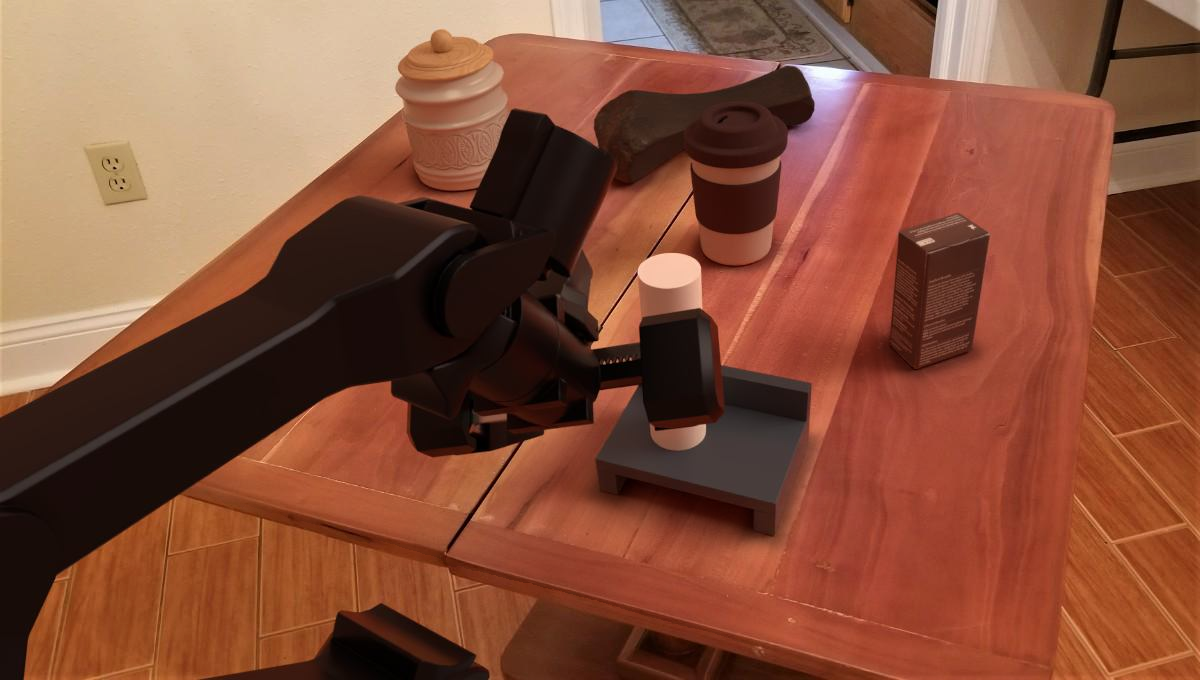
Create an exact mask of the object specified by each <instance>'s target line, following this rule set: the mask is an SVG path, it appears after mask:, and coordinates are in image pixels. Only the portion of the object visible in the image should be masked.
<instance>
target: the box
mask: <svg viewBox="0 0 1200 680" xmlns="http://www.w3.org/2000/svg"><path fill="white" fill-rule="evenodd" d="M990 237H991V233H990V232H989V231H988V230H986V229H985V228H983V227H981V226H980V225H978V224H977V223H975V222H973V220H971V219H969V218H968V217H966V216H965V215H963V214H962V213H960V212H956V213H953V214H949V215H946V216H943V217H940V218H937V219H933V220H929V221H927V222H923V223H920V224H917V225H914V226H910V227H907V228H903V229H899V230H898V239H897V249H896V250H897V251H896V263H895V275H894V285H893V295H892V307H891V318H890V331H889V342H888V343H889V346H891V347H892V349H893V350H894V351H895V352H897V354H898V355H899V356H900V357H901V358H902V359H904V361H906V362H907V364H909V366H911V367H913V369H915V370H917V369H920V368H924V367H927V366H929V365H932V364H935V363H938V362H941V361H944V360H948V359H949V358H953V357H955V356H958V355H961V354H964V353H968V352H971V351H972V350H973V345H974V339H975V332H976V326H977V320H978V315H979V314H978V312H979V306H980V301H981V295H982V289H983V281H984V275H985V268H986V263H987V256H988V251H989V243H990Z"/></svg>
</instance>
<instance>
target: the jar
mask: <svg viewBox="0 0 1200 680" xmlns="http://www.w3.org/2000/svg"><path fill="white" fill-rule="evenodd" d="M397 71H398V73H399V74H400V75H401V76H400V77H399V78H398V79H397V81H396V83H395V87H394V90H395V93H396V94H397V96H398V97H399V98H401V100H402V105H403V106H402V110H401V117H402V120H403V122H404V125H405V129H406V133H407V137H408V141H409V145H410V150H411V153H412V160H411V161H412V164H413V169H414V170H415V172H416V174H417V176H418V178H419V180H420V182H421V183H423V184H424V185H426V186H427V187H430V188H433V189H436V190H441V191H466V190H473V189H478V187H479V185H480V183H481V180H482V178H483V176H484V174H485V172H486V170H487V168H488V165H489V163H490V161H491V159H492V157H493V155H494V152H495V150H496V148H497V145H498V142H499V138H500V135H501V132H502V129H503V127H504V124H505V122H506V120H507V118H508V116H509V114H510V111H509V106H508V105H509V104H508V102H509V98H508V97H509V96H508V95H507V93H506V91H505V90H503V86H502V81H503V79H504V76H505V75H504V74H505V73H504V72H505V71H504V68H503V67H502V65H501V64H499V63H497V62H496V61H494V50H493V49H492V48H491V47H490V46H488V45H487V44H485V43H482V42H478V40H475V39H474V38H471V37H467V36H453V35H452V34H451V32H449V31H448V30H446V29H442V28H441V29H436V30H434V31H433V32H432V33H431V36H430V40H427V41H425V42H422V43H420V44H419V43H418V44H417V45H416V46H414V47H413V48H411V49H410V50H409V51H408V53H407V54H406V55H405V56H404V57H402V58H401V60H399V62H398V65H397Z"/></svg>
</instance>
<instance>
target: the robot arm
mask: <svg viewBox="0 0 1200 680" xmlns="http://www.w3.org/2000/svg"><path fill="white" fill-rule="evenodd" d="M616 171H617V164H616V162H615V160H614V158H613V157H612V155H611V154H610V153H609V152H608V151H606V150H604V149H601V148H598V146H597V145H595V144H593V143H592V142H591V141H589V140H587V139H586V138H585V137H582V136H580V135H578V134H577V133H575V132H574V131H571V130H568V129H566V128H564V127H561V126H559V125H556V124H555V122H554V121H553V120H552V119H551V118H550V116H549V115H548V114H547V113H543V112H538V111H532V110H527V109H521V108H516V107H515V108H511V109H510V111H509V116H508V118H507V120H506V122H505V124H504V127H503V129H502V132H501V135H500V138H499V142H498V145H497V148H496V150H495V152H494V155H493V157H492V159H491V161H490V163H489V165H488V168H487V170H486V172H485V174H484V176H483V178H482V180H481V183H480V185H479V187H478V188H476V191H475V193H474V196H473V198H472V200H471V201H470V204H469V208H467V207H465V206H460V205H458V204H457V205H456V204H454V203H453V204H452V203H449V202H445V201H441V200H437V199H433V198H429V197H425V196H422V197H418V198H413V199H410V200H409V199H408V200H405V201H401V202H393V201H389V200H385V199H381V198H378V197H374V196H370V195H361V194H360V195H355V196H349V197H347V198H344V199H343V200H341V201H339V202H338V203H335V205H333V206H332V207H330V208H329V209H328V210H326V211H325V212H323V213H322V214H320V215H319V216H318V217H316V218H315V219H314V220H312V221H311V222H309V223H308V224H307V225H305V226H304V227H303V228H300V230H298V231H296V233H294V234H293V235H291V236H290V237H288V238H287V239H286V240H285V242H284V243H283V244H282V245H281V246H280V248H279V250H278V253H277V255H276V256H275V258H274V260H273V262H272V263H271V266H270V267H269V270H268V271H267V273H266V275H265V276H264V277H263V278H261V279H260V280H259V281H257V282H256V283H254V284H253V285H252V286H250V287H249V288H248V289H247V290H245V291H244V292H242V293H240V294H239V295H237V296H235V297H233V298H231V299H229V300H227V301H225V302H222V303H221V304H219V305H217V306H215V307H213V308H212V309H209V310H208V311H205V312H203V313H202V314H199V315H198V316H196V317H194V318H192V319H190V320H188V321H185V322H184V323H182V324H179V325H178V326H176V327H173V328H172V329H170V330H168V331H166V332H164V333H163V334H160V335H158V336H157V337H155V338H153V339H151V340H149V341H147V342H145V343H142V344H141V345H139V346H137V347H135V348H133V349H131V350H129V351H127V352H125V353H124V354H121V355H119V356H118V357H116V358H113V359H111V360H110V361H108V362H106V363H104V364H102V365H100V366H98V367H96V368H94V369H92V370H89V371H88V372H86V373H84V374H82V375H80V376H78V377H76V378H75V379H72V380H71V381H69V382H67V383H65V384H63V385H61V386H59V387H57V388H55V389H53V390H51V391H49V392H47V393H45V394H43V395H41V396H39V397H38V398H35V399H34V400H31V401H29V402H28V403H26V404H24V405H22V406H20V407H18V408H16V409H14V410H12V411H10V412H8V413H6V414H4V415H2V416H0V680H25V674H26V673H25V672H26V664H27V653H28V644H29V637H30V634H31V632H32V630H33V629H34V627H35V623H36V622H37V619H38V617H39V615H40V613H41V612H42V611H41V610H42V609H43V606H44V604H45V602H46V600H47V598H48V595H49V593H50V591H51V589H52V587H53V585H54V583H55V582H56V581H55V580H56V578H57V576H59V575H60V574H62V573H63V572H65V571H66V570H68V569H69V568H71V567H72V566H75V564H77V563H79V562H80V561H81V560H83V559H85V558H87V556H89V555H91V554H92V553H94V552H95V551H97V550H98V549H99V548H101V547H103V546H104V545H106V544H107V543H108V542H110V541H112V540H113V539H115V538H116V537H118V536H119V535H121V534H123V533H124V532H125V531H127V530H128V529H130V528H131V527H134V525H136V524H138V523H139V522H140V521H142V520H144V519H146V517H148V516H150V515H151V514H152V513H154V512H156V511H157V510H158V509H160V508H162V507H163V506H164V505H166V504H168V503H169V502H170V501H172V500H174V499H175V498H177V497H178V496H180V495H181V494H183V493H184V492H185V491H187V490H189V489H191V488H192V487H193V486H195V485H197V483H200V482H201V481H202V480H205V478H207V477H209V476H210V475H212V474H213V473H215V472H216V471H217V470H219V469H220V468H223V466H225V465H226V464H228V463H230V462H231V461H233V460H234V459H236V458H237V457H238V456H239V457H240V455H241V454H243V453H245V452H246V451H248V450H249V449H251V448H252V447H254V446H256V444H258V443H260V442H261V441H263V440H265V439H266V438H267V437H269V436H270V435H272V434H274V433H275V432H276V431H278V430H280V429H281V428H283V427H284V426H286V425H287V424H288V423H291V422H292V421H293V420H295V419H296V418H298V417H299V416H301V415H302V414H304V413H305V412H306V411H308V410H310V409H311V408H313V407H315V406H316V405H317V404H319V403H321V402H322V401H323V400H325V399H327V398H329V397H331V396H334V395H336V394H338V393H340V392H342V391H345V390H347V389H350V388H355V387H361V386H366V385H374V384H375V385H376V384H381V383H389V382H390V394H391V396H392V397H393V398H395V399H398V400H400V401H402V402H405V403H407V406H406V407H407V411H406V413H407V414H406V435H407V437H408V439H409V442H410V445H411V446H412V447H413V448H414V449H415V451H416V452H418V453H420V454H423V455H425V456H428V457H430V458H441V457H448V456H449V457H450V456H463V455H464V456H465V455H472V454H479V453H481V454H482V453H488V452H493V451H497V450H500V449H504V448H507V447H509V446H510V447H511V446H512V445H516V444H520V443H523V442H526V441H530V440H532V439H533V440H534V439H536V438H539V437H541V436H544V435H545V431H547V430H548V431H549V430H556V429H563V428H571V427H578V426H579V427H580V426H586V425H587V426H588V425H594V424H595V417H594V416H595V414H594V403H595V402H596V401H597V399H598V396H599V393H600V391H605V390H607V391H608V390H613V389H621V388H629V387H636V386H638V385H642V391H643V404H644V407H645V411H646V414H647V418H648V421H649V423H650V424H651V425H653V426H654V427H655V431H661V430H670V429H678V428H686V427H694V426H698V425H703V424H711V423H716V422H717V421H718V420H719V419H720V417H721V416H722V415H723V414H724V413H725V405H724V393H723V382H722V370H721V365H722V359H721V350H720V349H721V347H720V337H719V326H718V325H717V323H716V321H715V319H714V318H713V317H712V316H711V315H710V314H708V313H707V312H706V311H705V310H703V308H702V309H701V308H696V309H690V310H684V311H677V312H671V313H665V314H659V315H652V316H646V317H643V318H642V320H641V319H640V322H639V325H638V335H639V341H638V342H631V343H626V344H618V345H612V346H606V347H598V348H592V343H595V342H598V341H599V339H600V336H599V335H600V334H599V333H600V332H599V320H598V319H597V318H596V317H595V316H594V315H593V313H591V312H590V311H589V302H590V301H589V300H590V291H591V282H592V279H593V276H594V270H593V267H592V265H591V263H590V261H589V260H588V257H587V255H586V253H585V251H584V249H583V248H584V246H585V244H586V242H587V239H588V237H589V234H590V233H591V230H592V227H593V226H594V223H595V222H596V219H597V217H598V214H599V212H600V209H601V207H602V205H603V203H604V200H605V198H606V196H607V194H608V191H609V189H610V187H611V184H612V182H613V180H614V175H615V173H616ZM637 356H638V359H636V358H637ZM476 658H477V654H476V653H474V652H473V651H470V650H469V649H467V648H465V647H464V646H461V645H460V644H458V643H456V642H454V641H452V640H451V639H449V638H447V637H445V636H443V635H441V634H440V633H437V632H435V631H433V630H432V629H430V628H429V627H427V626H425V625H423V624H421V623H419V622H417V621H415V620H414V619H412V618H410V617H408V616H406V615H405V614H403V613H401V612H399V611H397V610H395V609H394V608H392V607H390V606H388V605H386V604H384V603H383V602H379V603H378V604H376V605H375V606H373V607H372V608H370V609H366V610H362V611H349V610H343V609H341V610H339V611H338V612H337V613H336V616H335V621H334V625H333V630H332V632H330V634H329V635H328V637H327V638H326V640H325V641H324V643H323V644H322V646H321V647H320V649H319V650H318V652H317V653H316V654H315V656H314V657H313V658H312V659H309V660H305V661H300V662H299V661H298V662H294V663H288V664H282V665H281V664H280V665H275V666H270V667H265V668H258V669H252V670H245V671H241V672H234V673H228V674H223V675H218V676H211V677H206V678H199V679H198V680H490V679H491V678H490V677H491V676H490V671H489V669H488V668H487V667H485V666H483V665H481V664H480V663H478V662H476V661H475V660H476Z"/></svg>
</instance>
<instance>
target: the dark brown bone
mask: <svg viewBox="0 0 1200 680" xmlns="http://www.w3.org/2000/svg"><path fill="white" fill-rule="evenodd" d="M736 101H743V102H751V103H756V104H759V105H762V106H764V107H765V108H767V109H768V110H769V111H770V113H771V115H773V116H776V117H778V118H779V119H780V120H782V121H783V122H784V123H785V125H786V126H799V125H802V124H804V123H806V122H808V121H809V120H810V119H811V118H812V116H813V115H814V112H815V109H816V108H815V106H816V104H815V100H814V98H813V95H812V91H811V87H810V85H809V82H808V80H807V79H806V77H805V75H804V73H803V72H802V70H801V69H800V68H799V67H798V66H796V65H795V66H794V65H785V66H782V67H779V68H777V69H774V70H771V71H769V72H767V73H764V74H763V75H760V76H758V77H756V78H753V79H749V80H747V81H744V82H742V83H739V84H736V85H733V86H728V87H726V88H721V89H716V90H711V91H705V92H698V93H697V92H696V93H667V92H657V91H649V90H639V89H630V90H629V89H628V90H626V91H624V92H622V93H620V94H618V95H617V96H616V97H614V98H613V99H610V100H608V101H607V102H606V103H605V104H604V105H603V106H602V107H600V109H599V110H598V111H597V113H596V115H595V117H594V119H593V123H594V124H593V132H594V134H595V138H596V141H597V147H598V148H601V149H604V150H606V151H608V152H609V153H610V154H611V155H612V157H613V158H614V160H615V162H616V164H617V171H616V173H615V175H614V177H613V179H615V180H617V181H619V182H621V183H623V184H628V185H629V184H633V183H635V182H637V181H639V180H640V179H642V178H643V177H645V176H646V175H648V174H649V173H650V172H651V171H652V170H654V169H656V168H657V167H658V166H660V165H661V164H662V163H664V162H665V161H668V159H669V158H671V157H673V156H675V155H676V154H677V153H679V152H681V151H682V150H683V151H684V150H685V148H684V132H685V129H686V128H687V126H688V125H689V124H690V123H691V122H693V121H694V120H696V119H697V118H699V117H700V115H701V114H702V113H703V111H705V110H706V109H708V108H710V107H711V106H714V105H717V104H720V103H725V102H736Z"/></svg>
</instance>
